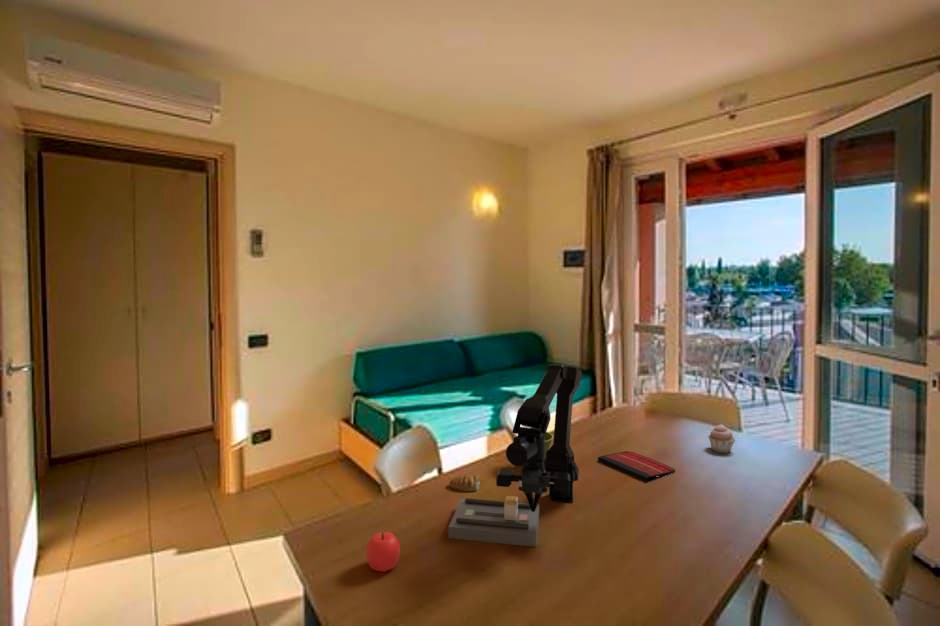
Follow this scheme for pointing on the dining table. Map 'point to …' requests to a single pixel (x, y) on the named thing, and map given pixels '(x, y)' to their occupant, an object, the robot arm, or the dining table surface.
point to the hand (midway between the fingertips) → (533, 511)
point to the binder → (636, 465)
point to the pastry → (465, 483)
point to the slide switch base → (494, 523)
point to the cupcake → (721, 439)
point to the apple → (383, 551)
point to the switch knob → (511, 508)
